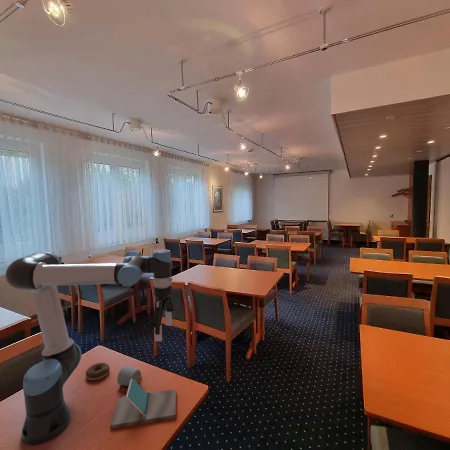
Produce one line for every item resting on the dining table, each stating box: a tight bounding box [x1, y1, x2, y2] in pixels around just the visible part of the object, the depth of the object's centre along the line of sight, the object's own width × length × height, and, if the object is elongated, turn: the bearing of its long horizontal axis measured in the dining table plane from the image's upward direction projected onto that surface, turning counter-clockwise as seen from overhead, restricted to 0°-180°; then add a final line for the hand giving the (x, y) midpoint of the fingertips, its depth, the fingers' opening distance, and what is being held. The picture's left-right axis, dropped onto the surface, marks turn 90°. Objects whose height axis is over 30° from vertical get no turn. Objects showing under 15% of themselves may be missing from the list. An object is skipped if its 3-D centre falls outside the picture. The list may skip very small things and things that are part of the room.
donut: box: [85, 362, 110, 381], centre depth 127 cm, size 11×11×4 cm
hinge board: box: [109, 388, 177, 430], centre depth 105 cm, size 24×14×2 cm, turn 100°
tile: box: [126, 378, 148, 415], centre depth 104 cm, size 10×10×1 cm
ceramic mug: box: [116, 365, 142, 387], centre depth 121 cm, size 11×8×8 cm
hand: (163, 332), depth 114 cm, fingers open, 13 cm apart
